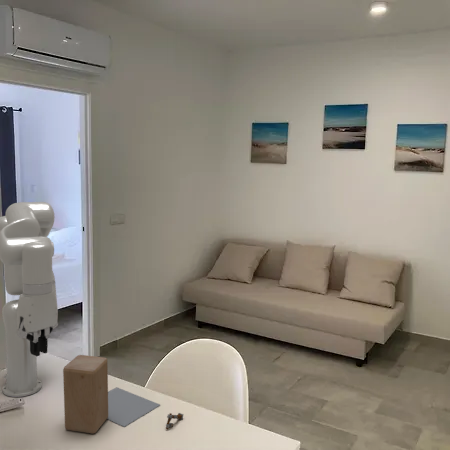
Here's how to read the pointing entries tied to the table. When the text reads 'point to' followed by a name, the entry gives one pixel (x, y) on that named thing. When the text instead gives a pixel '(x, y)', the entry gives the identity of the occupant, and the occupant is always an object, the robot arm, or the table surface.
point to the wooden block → (85, 393)
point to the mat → (127, 406)
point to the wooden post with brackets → (170, 416)
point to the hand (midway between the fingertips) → (39, 353)
